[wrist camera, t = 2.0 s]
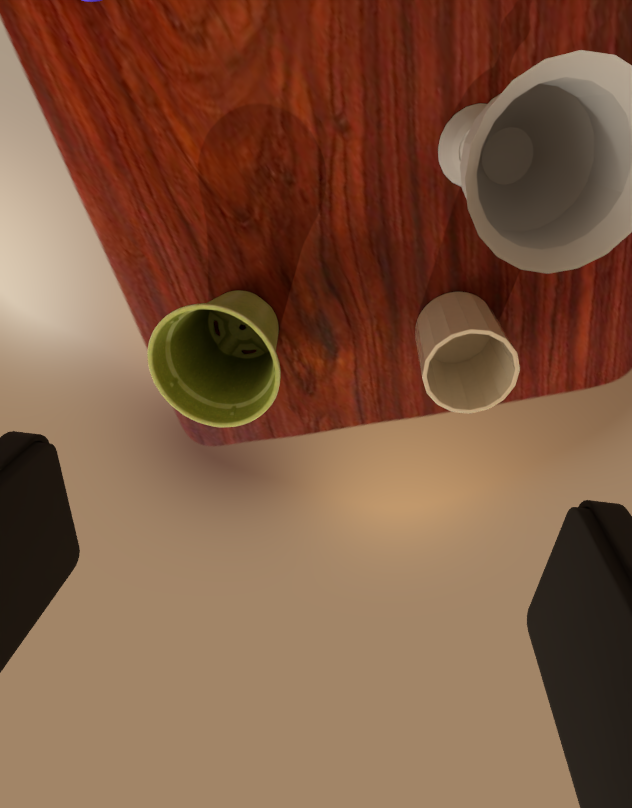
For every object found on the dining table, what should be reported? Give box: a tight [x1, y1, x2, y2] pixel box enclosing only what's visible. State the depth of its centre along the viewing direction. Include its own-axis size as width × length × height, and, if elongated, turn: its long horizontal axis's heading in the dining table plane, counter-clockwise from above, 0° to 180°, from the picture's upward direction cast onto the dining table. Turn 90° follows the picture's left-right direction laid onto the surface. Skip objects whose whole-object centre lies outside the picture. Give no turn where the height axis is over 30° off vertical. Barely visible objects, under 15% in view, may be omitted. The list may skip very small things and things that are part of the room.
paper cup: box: [415, 292, 520, 413], centre depth 36 cm, size 6×6×8 cm
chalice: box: [438, 50, 632, 274], centre depth 26 cm, size 7×7×18 cm
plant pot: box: [147, 291, 281, 427], centre depth 38 cm, size 9×9×9 cm
